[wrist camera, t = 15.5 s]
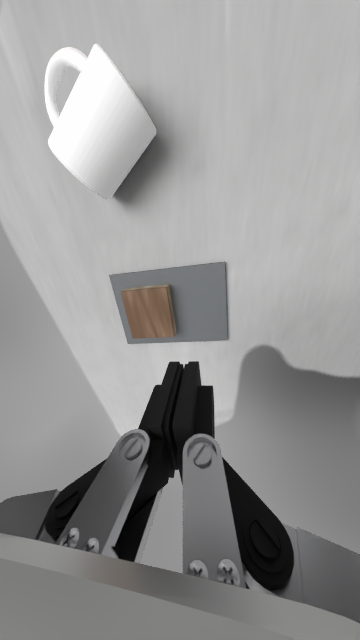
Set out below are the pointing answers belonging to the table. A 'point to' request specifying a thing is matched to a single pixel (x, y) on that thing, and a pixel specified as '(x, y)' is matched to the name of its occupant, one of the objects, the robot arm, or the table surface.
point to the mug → (96, 120)
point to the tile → (149, 311)
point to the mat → (183, 300)
